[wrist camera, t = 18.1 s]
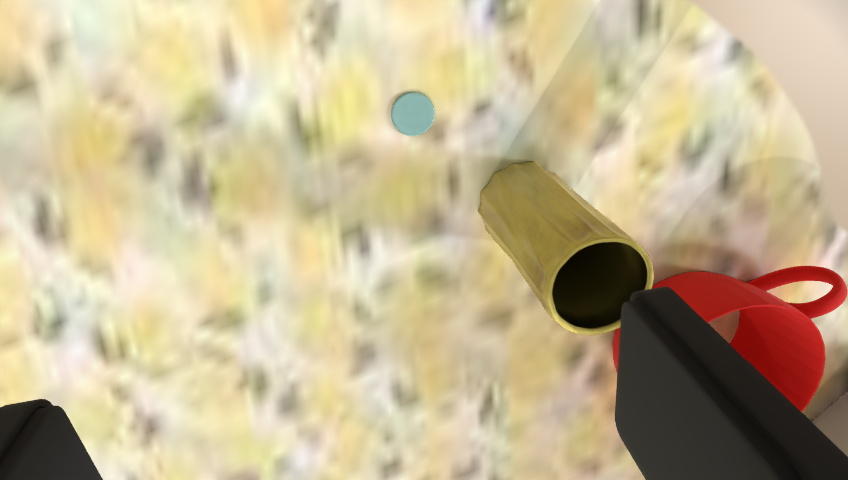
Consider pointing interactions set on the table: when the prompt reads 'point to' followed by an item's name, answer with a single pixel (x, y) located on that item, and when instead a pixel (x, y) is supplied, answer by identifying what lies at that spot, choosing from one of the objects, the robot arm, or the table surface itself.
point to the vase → (564, 248)
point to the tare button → (412, 114)
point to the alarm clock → (835, 423)
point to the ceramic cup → (766, 323)
